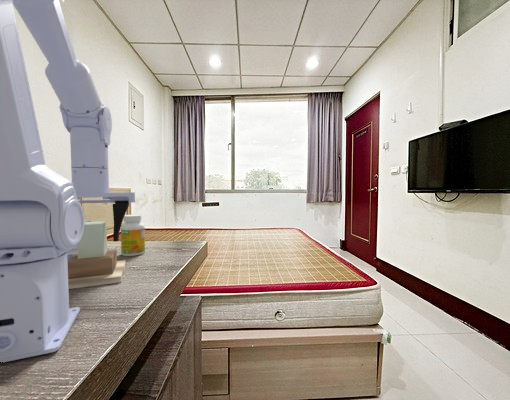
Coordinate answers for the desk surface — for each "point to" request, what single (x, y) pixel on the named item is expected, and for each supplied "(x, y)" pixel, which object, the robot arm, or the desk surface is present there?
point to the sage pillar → (93, 240)
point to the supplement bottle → (132, 236)
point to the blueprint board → (99, 278)
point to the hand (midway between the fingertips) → (92, 242)
